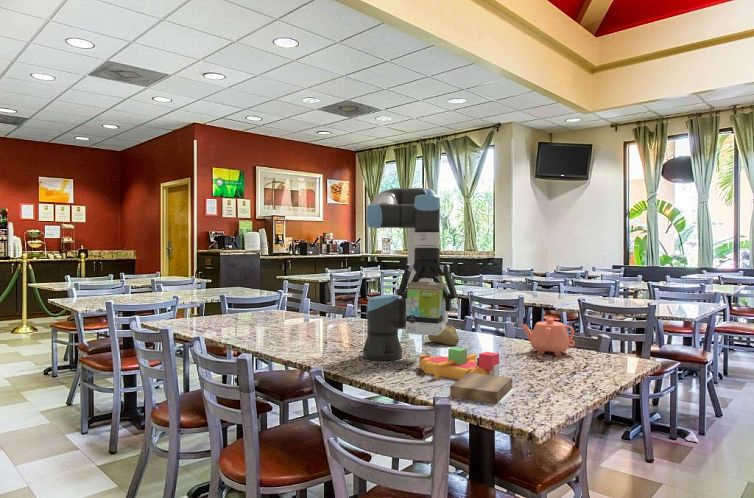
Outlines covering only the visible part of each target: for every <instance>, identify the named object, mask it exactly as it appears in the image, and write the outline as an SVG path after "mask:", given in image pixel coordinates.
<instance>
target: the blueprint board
mask: <svg viewBox="0 0 754 498" xmlns="http://www.w3.org/2000/svg"><path fill="white" fill-rule="evenodd" d="M517 390H518V389H517V388H513V387H512V388H511V390H510V391H509V392H508V393H507V394H506V395H505V396H504V397H503V398H502V399H501V400H500V401H499V402H498V403H497V404H501V405H504V404H505V403H506V402H507V400H509V399H510V398H511V396H512V395H513V394H514V393H515V392H516V391H517ZM438 395H439V396H446V397H450V386H449V387H448V388H446V389H445V390H444V391H441V392H440V393H439V394H438Z"/></svg>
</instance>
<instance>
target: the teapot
mask: <svg viewBox="0 0 754 498" xmlns="http://www.w3.org/2000/svg"><path fill="white" fill-rule="evenodd" d="M521 327H522V329H523V331H524V333H525V335H526V337H527V339H528V341H529V343H530V345H531V347H532V349H533V350H534V351H535V350H536V351H537V352H536V355H544V354H545V352H552V353H553V354H554V356H557V357H560V356H562V353H564V352H566V351H567V350H568V349H569V347H571V348H572V347H575V343H576V342H575V341H574V340H572V339H573V337H574V334H575V328H574V327H572V326H570V325H568V324H567V325H566V324H564V322H563V323H562V322H555V319H554V317H552V316H551V317H549V318H545V321H538V322H536V323H535V325H534V327H533V330H532V331H531V330H530V328H529V326H528V325H527V324H526V323H523V324H521ZM567 329H570V330H571V333H570V336H569V333H568V331H567ZM560 352H562V353H560Z"/></svg>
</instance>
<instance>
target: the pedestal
mask: <svg viewBox="0 0 754 498" xmlns="http://www.w3.org/2000/svg"><path fill="white" fill-rule="evenodd" d="M449 387H450V396H449V397H450V398H457V399H463V400H471V401H479V402H483V403H491V404H499V403H498V402H499V401H500V400H501V399H502V398H503V397H504V396H505V395H506V394H507V393H508V392H509V391H510V390H511V388H513V377H511V376H510V377H509V376H501V375H499V376H493V375H485V374H476V373H468V374H467V375H465V376H464V377H462V378H461V379H459V380H457V381H455V382H453V384H451V385H449Z"/></svg>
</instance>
